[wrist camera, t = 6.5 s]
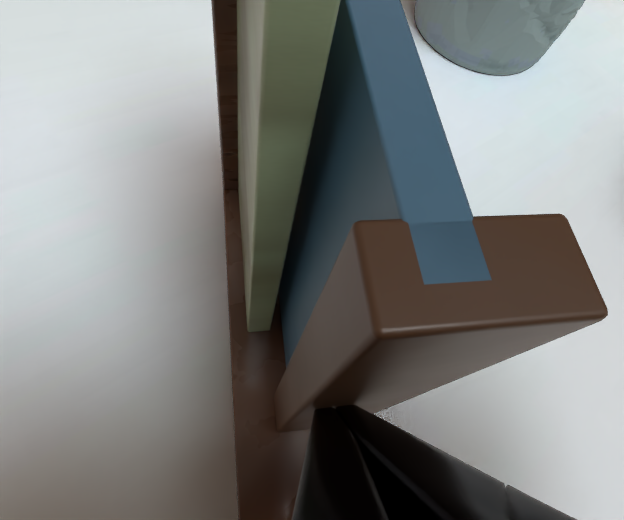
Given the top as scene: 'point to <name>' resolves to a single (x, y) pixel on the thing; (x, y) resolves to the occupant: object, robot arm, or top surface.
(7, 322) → the top surface
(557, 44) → the top surface
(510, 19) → the embossed grey plant pot
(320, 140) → the sliding door
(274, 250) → the brown wooden panel stand
